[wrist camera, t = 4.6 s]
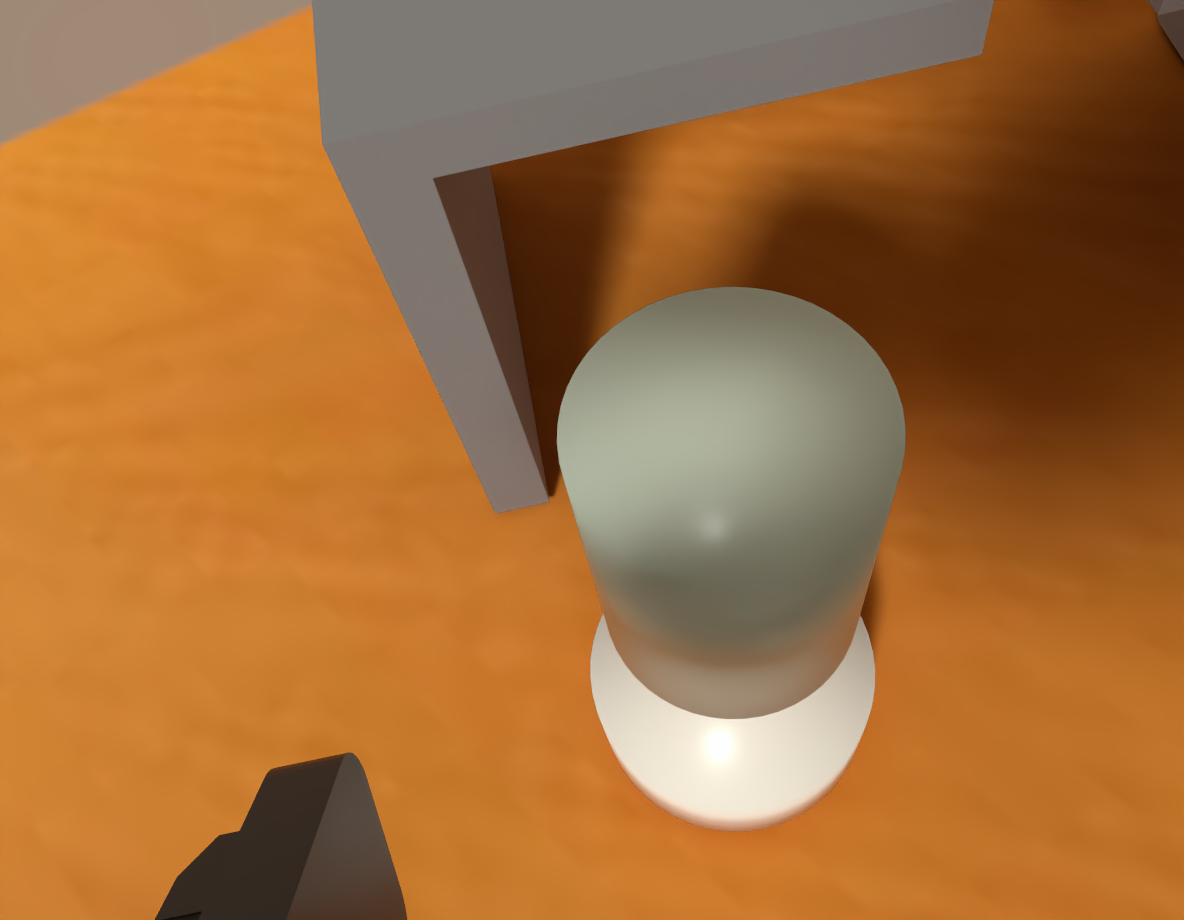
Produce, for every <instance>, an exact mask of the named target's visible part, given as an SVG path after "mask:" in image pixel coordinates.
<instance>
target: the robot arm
mask: <svg viewBox="0 0 1184 920" xmlns="http://www.w3.org/2000/svg"><path fill="white" fill-rule="evenodd" d="M155 920H407V915H406V909H405V904H404V899H403V895H402V891H401V888H400V885H399V881H398V878H397V875H396V872H395V868H394V865H393V862H392V859H391V855H390V852H389V849H388V846H387V842H386V839H385V836H384V833H383V829H382V826H381V823H380V819H379V816H378V813H377V810H376V806H375V803H374V800H373V797H372V793H371V790H370V787H369V784H368V780H367V777H366V774H365V771H364V769H363V767H362V765H361V763H360V761H359V759H358V758H357V757H356V755H354V754H353V753H345V754H340V755H335V756H330V757H325V758H321V759H316V760H311V761H306V762H301V763H297V764H292V765H287V766H282V767H277V768H273V769H271V770H270V771H269V772H268V773H267V775H266V776H265V778H264V780H263V782H262V785H261V787H260V789H259V791H258V793H257V795H256V797H255V800H254V802H253V804H252V806H251V808H250V810H249V812H248V815H247V817H246V819H245V821H244V823H243V825H242V827H241V830H240V831H238V832H233V833H228V834H223V835H219V836H218V837H217V838H216V839H215V840H214V841H213V842H212V843H211V844H210V845H209V846H208V847H207V848H206V849H205V850H204V851H203V852H202V853H201V854H200V855H199V856H198V857H197V858H196V859H195V860H194V861H193V862H192V863H191V864H190V865H189V866H188V867H187V868H186V869H185V870H184V871H183V872H182V873H181V874H180V875H179V876H178V877H177V878H176V880H175V882H174V884H173V886H172V888H171V890H170V892H169V894H168V895H167V897H166V899H165V901H164V903H163V905H162V907H161V909H160V911H159V913H158V914H157V916H156V918H155Z"/></svg>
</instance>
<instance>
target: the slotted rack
mask: <svg viewBox="0 0 1184 920" xmlns="http://www.w3.org/2000/svg"><path fill="white" fill-rule="evenodd" d="M1148 1H1149V3H1150V4H1151V6H1152V7H1153V9H1154V10H1155V12H1156V13H1157V15H1158V16H1157V21H1158V22H1159V24H1160V25H1161V27H1162V28H1163V30H1164V31H1165V33H1166V35H1167V36H1168V38H1169V39H1170V41H1171V42H1172V44H1173V45H1174V47H1175V48H1176V50H1177V51H1178V53H1179V54H1180V56H1181V57H1182V59H1183V61H1184V0H1148ZM993 3H994V0H312V7H313V21H314V35H315V49H316V63H317V76H318V90H319V104H320V118H321V132H322V144H323V147H324V149H325V151H326V153H327V155H328V157H329V159H330V161H331V164H332V166H333V168H334V170H335V172H336V174H337V176H338V179H339V181H340V183H341V185H342V187H343V189H344V191H345V194H346V196H347V198H348V200H349V202H350V204H351V206H352V208H353V211H354V213H355V215H356V217H357V219H358V221H359V223H360V226H361V228H362V230H363V232H364V234H365V236H366V238H367V240H368V243H369V245H370V247H371V249H372V251H373V253H374V255H375V258H376V260H377V262H378V264H379V266H380V268H381V270H382V273H383V275H384V277H385V279H386V281H387V283H388V285H389V287H390V290H391V292H392V294H393V296H394V298H395V300H396V302H397V305H398V307H399V309H400V311H401V313H402V315H403V317H404V319H405V322H406V324H407V326H408V328H409V330H410V332H411V334H412V337H413V339H414V341H415V343H416V345H417V347H418V349H419V352H420V354H421V356H422V358H423V360H424V362H425V364H426V366H427V369H428V371H429V373H430V375H431V377H432V379H433V381H434V384H435V386H436V388H437V390H438V392H439V394H440V396H441V398H442V401H443V403H444V405H445V407H446V409H447V411H448V413H449V416H450V418H451V420H452V422H453V424H454V426H455V428H456V431H457V433H458V435H459V437H460V439H461V441H462V443H463V445H464V448H465V450H466V452H467V454H468V456H469V458H470V460H471V463H472V465H473V467H474V469H475V471H476V473H477V475H478V477H479V480H480V482H481V484H482V486H483V488H484V490H485V492H486V495H487V497H488V499H489V501H490V503H491V505H492V507H493V510H494V512H495V514H497V513H502V512H506V511H511V510H516V509H520V508H525V507H529V506H534V505H539V504H543V503H548V502H549V496H548V491H547V485H546V479H545V474H544V468H543V462H542V457H541V451H540V445H539V440H538V434H537V428H536V423H535V417H534V411H533V406H532V400H531V394H530V389H529V383H528V377H527V372H526V366H525V360H524V355H523V349H522V343H521V338H520V332H519V326H518V321H517V315H516V309H515V304H514V298H513V292H512V287H511V281H510V275H509V270H508V264H507V258H506V253H505V247H504V241H503V236H502V230H501V224H500V219H499V213H498V207H497V202H496V196H495V190H494V185H493V179H492V173H491V168H490V165H494V164H498V163H503V162H507V161H512V160H516V159H521V158H525V157H530V156H534V155H538V154H543V153H547V152H552V151H556V150H561V149H565V148H570V147H574V146H579V145H583V144H587V143H592V142H596V141H601V140H605V139H610V138H614V137H619V136H623V135H627V134H632V133H636V132H641V131H645V130H650V129H654V128H659V127H663V126H667V125H672V124H676V123H681V122H685V121H690V120H694V119H699V118H703V117H707V116H712V115H716V114H721V113H725V112H730V111H734V110H739V109H743V108H748V107H752V106H756V105H761V104H765V103H770V102H774V101H779V100H783V99H788V98H792V97H796V96H801V95H805V94H810V93H814V92H819V91H823V90H828V89H832V88H836V87H841V86H845V85H850V84H854V83H859V82H863V81H868V80H872V79H876V78H881V77H885V76H890V75H894V74H899V73H903V72H908V71H912V70H917V69H921V68H925V67H930V66H934V65H939V64H943V63H948V62H952V61H957V60H961V59H965V58H970V57H974V56H979V55H982V51H983V46H984V42H985V38H986V33H987V29H988V25H989V21H990V16H991V12H992V8H993Z"/></svg>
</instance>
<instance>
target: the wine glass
mask: <svg viewBox="0 0 1184 920" xmlns="http://www.w3.org/2000/svg"><path fill="white" fill-rule="evenodd" d="M905 441H906V426H905V419H904V412H903V406H902V403H901V400H900V397H899V393H898V390H897V387H896V385H895V383H894V381H893V379H892V377H891V375H890V373H889V371H888V369H887V367H886V366H885V364H884V363H883V361H882V360H881V358H880V357H879V355H878V354H877V353H876V352H875V350H874V349H873V348H872V347H871V346H870V345H869V344H868V342H867V341H866V340H865V339H864V338H863V337H862V336H861V335H859V334H858V333H857V332H856V331H855V330H854V329H853V328H852V327H850V326H849V325H848V324H846V323H845V322H844V321H842V320H841V319H839V318H838V317H836V316H835V315H833V314H832V313H830V312H828V311H826V310H824V309H822V308H820V307H818V306H816V305H815V304H813V303H810V302H807V301H805V300H802V299H799V298H797V297H794V296H791V295H787V294H783V293H779V292H776V291H771V290H764V289H758V288H749V287H718V288H707V289H701V290H694V291H689V292H685V293H681V294H678V295H674V296H671V297H668V298H665V299H662V300H660V301H657V302H655V303H652V304H650V305H648V306H646V307H644V308H642V309H640V310H638V311H637V312H635V313H633V314H631V315H630V316H628V317H627V318H625V319H624V320H622V321H621V322H619V323H618V324H616V325H615V326H614V327H613V328H612V329H610V330H609V331H608V332H607V333H606V334H605V335H604V336H602V337H601V338H600V339H599V340H598V341H597V342H596V344H595V345H594V346H593V347H592V348H591V349H590V350H589V351H588V353H587V354H586V355H585V357H584V358H583V360H582V361H581V363H580V364H579V365H578V367H577V368H576V370H575V372H574V374H573V376H572V378H571V380H570V382H569V384H568V386H567V388H566V391H565V394H564V397H563V400H562V403H561V407H560V413H559V418H558V424H557V449H558V457H559V464H560V467H561V471H562V475H563V478H564V482H565V485H566V489H567V492H568V495H569V499H570V502H571V506H572V509H573V512H574V516H575V519H576V522H577V526H578V529H579V533H580V536H581V539H582V543H583V546H584V549H585V553H586V556H587V560H588V563H589V566H590V570H591V573H592V576H593V580H594V583H595V587H596V590H597V593H598V597H599V600H600V603H601V607H602V610H603V615H602V618H601V620H600V622H599V624H598V627H597V631H596V634H595V638H594V641H593V647H592V654H591V685H592V693H593V698H594V702H595V706H596V709H597V713H598V715H599V718H600V720H601V723H602V725H603V728H604V730H605V733H606V735H607V738H608V740H609V743H610V745H611V748H612V750H613V753H614V755H615V757H616V759H617V761H618V762H619V764H620V766H621V768H622V769H623V771H624V773H625V774H626V775H627V777H628V778H629V779H630V780H631V782H632V783H633V784H634V786H635V787H636V788H637V789H638V790H639V791H640V792H641V793H642V794H643V795H644V796H645V797H646V798H647V799H649V800H650V801H651V802H653V803H654V804H655V805H657V806H658V807H659V808H660V809H662V810H664V811H665V812H667V813H669V814H671V815H672V816H674V817H676V818H678V819H680V820H683V821H685V822H688V823H690V824H693V825H696V826H700V827H704V828H707V829H712V830H719V831H727V832H746V831H753V830H760V829H766V828H769V827H773V826H776V825H780V824H783V823H785V822H787V821H789V820H792V819H794V818H796V817H798V816H800V815H801V814H803V813H804V812H806V811H808V810H809V809H811V808H812V807H814V806H815V805H816V804H817V803H818V802H820V801H821V800H822V799H823V798H824V797H826V796H827V795H828V793H829V792H830V791H831V790H832V789H833V788H834V787H835V786H836V784H837V783H838V782H839V780H840V779H841V777H842V776H843V774H844V773H845V771H846V770H847V768H848V766H849V764H850V762H851V760H852V758H853V756H854V754H855V751H856V749H857V746H858V744H859V741H860V739H861V736H862V734H863V731H864V729H865V726H866V723H867V720H868V717H869V714H870V711H871V708H872V702H873V696H874V690H875V665H874V656H873V650H872V646H871V642H870V639H869V635H868V632H867V630H866V627H865V625H864V622H863V620H862V618H861V616H860V614H861V610H862V607H863V603H864V599H865V596H866V592H867V589H868V585H869V582H870V578H871V575H872V571H873V568H874V564H875V561H876V557H877V554H878V550H879V547H880V543H881V540H882V536H883V533H884V529H885V526H886V522H887V519H888V515H889V511H890V508H891V504H892V501H893V497H894V494H895V490H896V487H897V483H898V480H899V476H900V473H901V469H902V465H903V459H904V453H905Z"/></svg>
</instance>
